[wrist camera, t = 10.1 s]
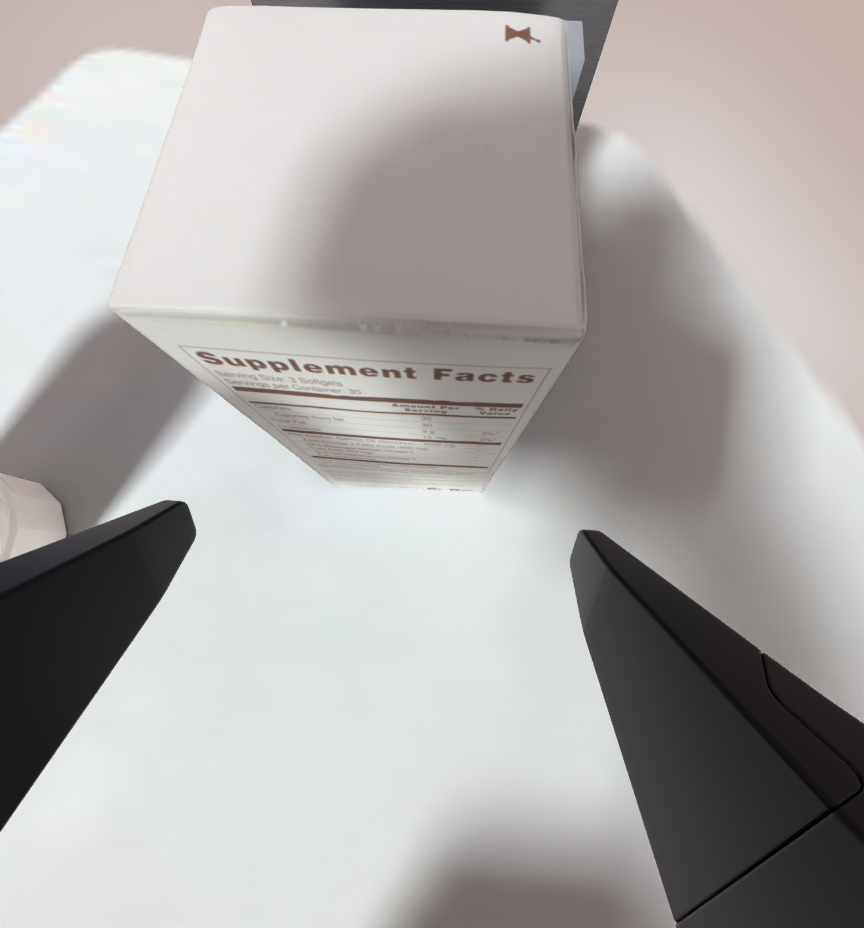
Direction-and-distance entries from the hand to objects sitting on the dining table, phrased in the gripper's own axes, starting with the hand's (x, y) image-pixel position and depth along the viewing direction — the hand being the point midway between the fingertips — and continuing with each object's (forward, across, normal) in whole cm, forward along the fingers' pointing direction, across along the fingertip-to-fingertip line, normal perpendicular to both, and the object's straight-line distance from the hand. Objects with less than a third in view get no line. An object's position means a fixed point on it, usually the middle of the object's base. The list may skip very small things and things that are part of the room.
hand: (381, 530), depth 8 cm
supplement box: (+10, 0, +2) cm, 11 cm away
